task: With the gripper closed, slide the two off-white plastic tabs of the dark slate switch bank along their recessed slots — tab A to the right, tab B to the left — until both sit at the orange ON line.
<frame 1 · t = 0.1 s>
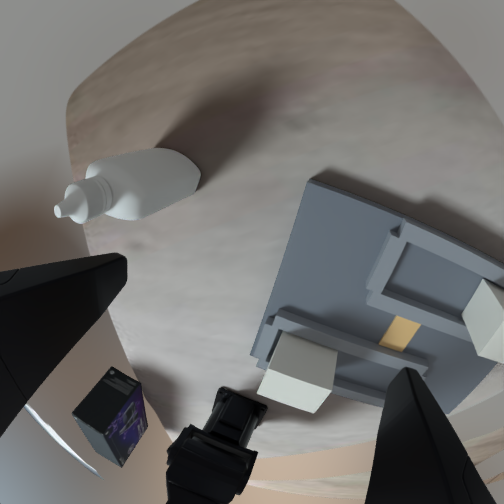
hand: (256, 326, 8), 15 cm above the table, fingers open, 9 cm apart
tab a: (299, 370, 22), point 4 cm above the table, slide at 0.0 cm
tab b: (501, 323, 15), point 4 cm above the table, slide at 0.0 cm
switch bank: (405, 323, 22), on the table
eye dropper bottle: (174, 169, 23), on the table
box: (133, 399, 44), on the table
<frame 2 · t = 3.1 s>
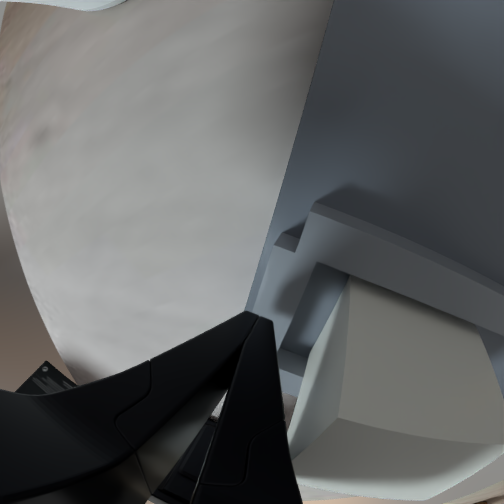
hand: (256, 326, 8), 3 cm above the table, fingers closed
tab a: (398, 397, 6), point 4 cm above the table, slide at 0.7 cm, touching gripper
box: (81, 408, 28), on the table
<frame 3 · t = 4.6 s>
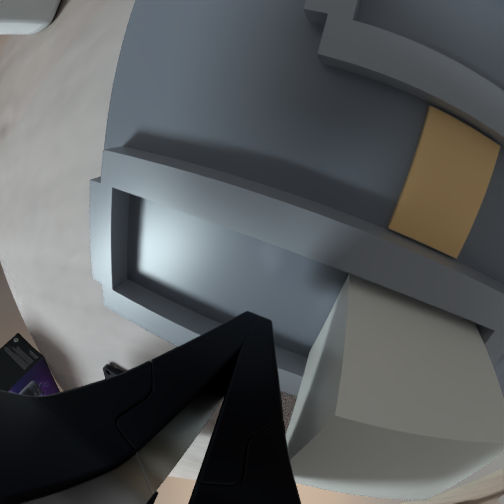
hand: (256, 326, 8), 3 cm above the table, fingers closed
tab a: (397, 396, 6), point 4 cm above the table, slide at 7.5 cm, touching gripper
switch bank: (451, 185, 7), on the table
eye dropper bottle: (43, 11, 9), on the table
box: (50, 382, 30), on the table
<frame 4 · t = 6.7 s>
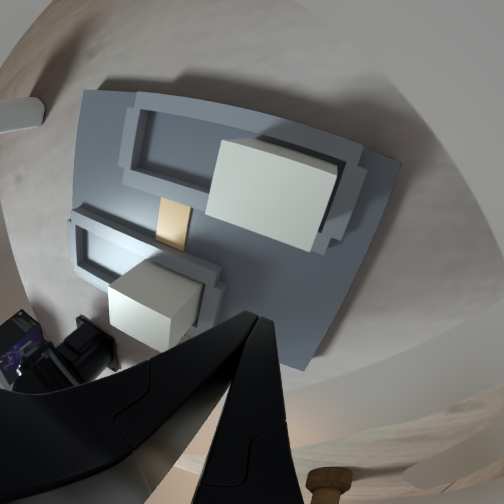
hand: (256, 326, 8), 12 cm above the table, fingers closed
tab a: (156, 303, 20), point 4 cm above the table, slide at 7.5 cm
tab b: (278, 185, 14), point 4 cm above the table, slide at 0.0 cm
switch bank: (192, 219, 21), on the table
mortar and pestle: (330, 474, 31), on the table
eye dropper bottle: (35, 111, 22), on the table
box: (42, 347, 42), on the table
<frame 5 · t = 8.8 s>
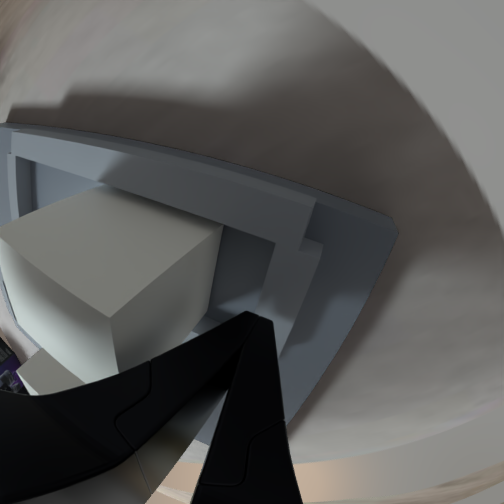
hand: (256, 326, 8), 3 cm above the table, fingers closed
tab a: (73, 386, 14), point 4 cm above the table, slide at 7.5 cm
tab b: (106, 278, 8), point 4 cm above the table, slide at 1.4 cm, touching gripper
switch bank: (102, 288, 15), on the table
box: (23, 372, 37), on the table
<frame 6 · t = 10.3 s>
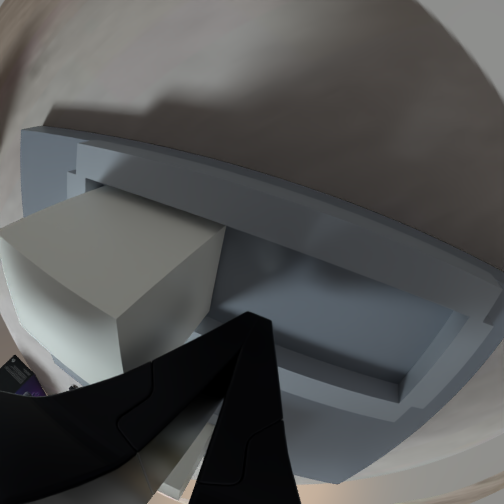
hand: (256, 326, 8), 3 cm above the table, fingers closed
tab a: (157, 440, 13), point 4 cm above the table, slide at 7.5 cm
tab b: (109, 278, 8), point 4 cm above the table, slide at 7.5 cm, touching gripper
switch bank: (195, 337, 14), on the table
box: (41, 391, 36), on the table
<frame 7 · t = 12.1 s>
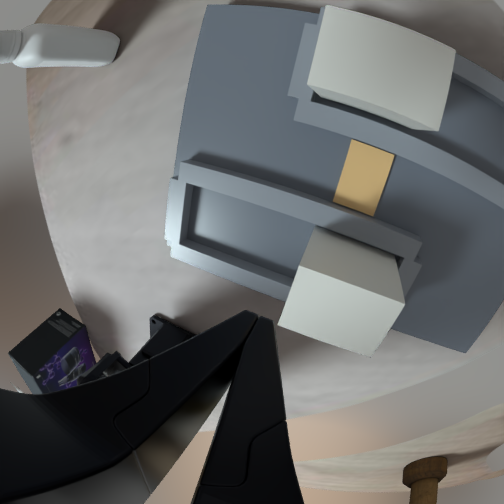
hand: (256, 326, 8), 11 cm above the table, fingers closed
tab a: (343, 287, 14), point 4 cm above the table, slide at 7.5 cm
tab b: (379, 73, 10), point 4 cm above the table, slide at 7.5 cm
switch bank: (374, 177, 15), on the table
mortar and pestle: (425, 464, 25), on the table
eye dropper bottle: (101, 48, 17), on the table
box: (85, 352, 39), on the table
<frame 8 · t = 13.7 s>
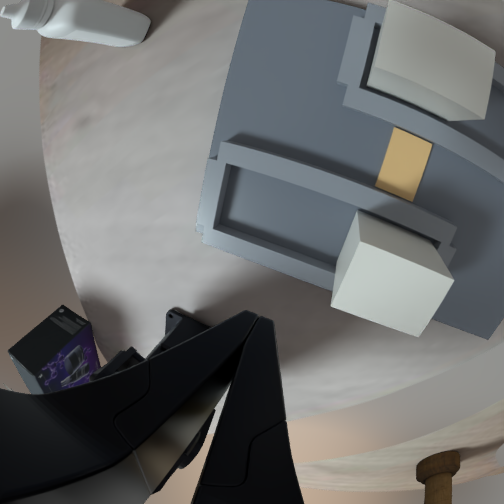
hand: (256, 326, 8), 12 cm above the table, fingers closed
tab a: (388, 269, 14), point 4 cm above the table, slide at 7.5 cm
tab b: (426, 66, 9), point 4 cm above the table, slide at 7.5 cm
switch bank: (409, 166, 15), on the table
mortar and pestle: (438, 460, 25), on the table
eye dropper bottle: (128, 29, 16), on the table
box: (88, 352, 37), on the table
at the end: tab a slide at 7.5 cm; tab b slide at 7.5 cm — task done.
